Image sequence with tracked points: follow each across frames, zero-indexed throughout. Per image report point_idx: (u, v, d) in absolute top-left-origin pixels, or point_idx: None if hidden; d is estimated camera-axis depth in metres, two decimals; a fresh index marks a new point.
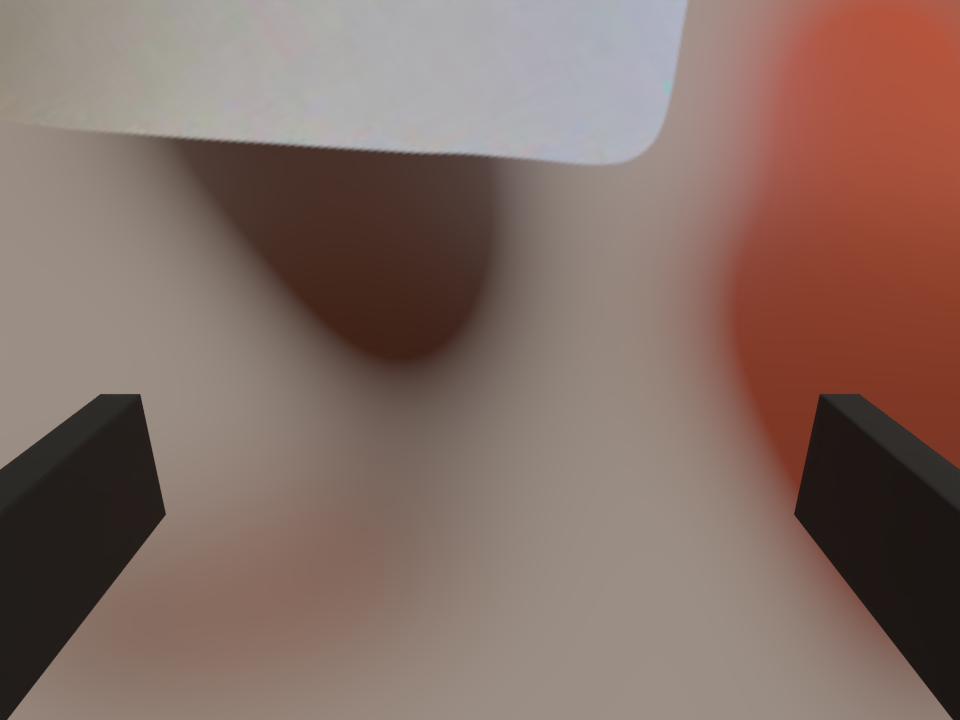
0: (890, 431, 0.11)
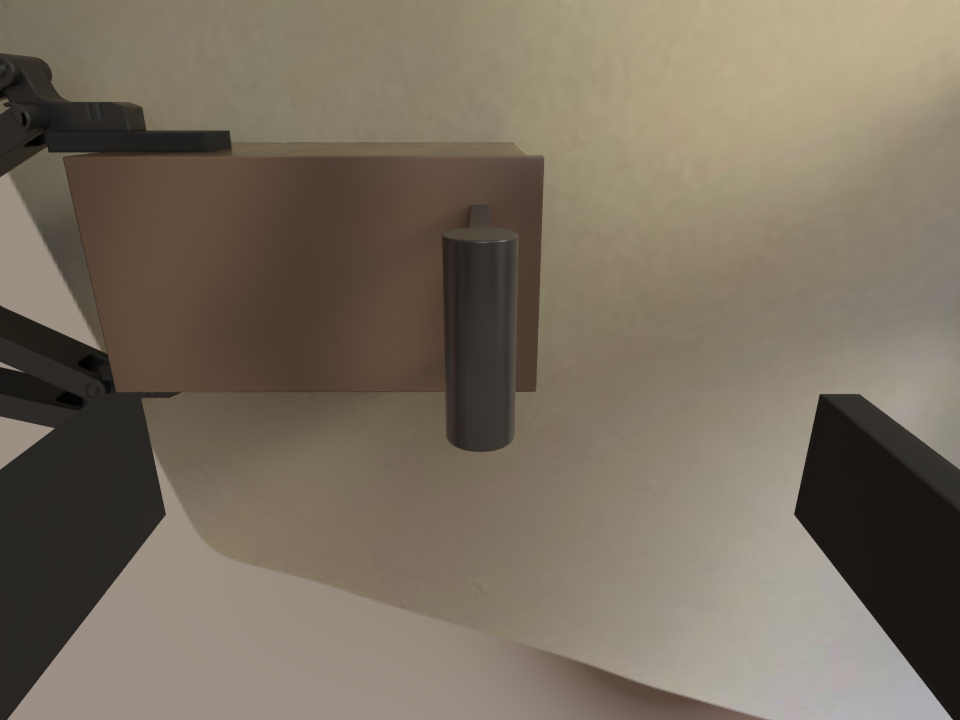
0: (890, 431, 0.11)
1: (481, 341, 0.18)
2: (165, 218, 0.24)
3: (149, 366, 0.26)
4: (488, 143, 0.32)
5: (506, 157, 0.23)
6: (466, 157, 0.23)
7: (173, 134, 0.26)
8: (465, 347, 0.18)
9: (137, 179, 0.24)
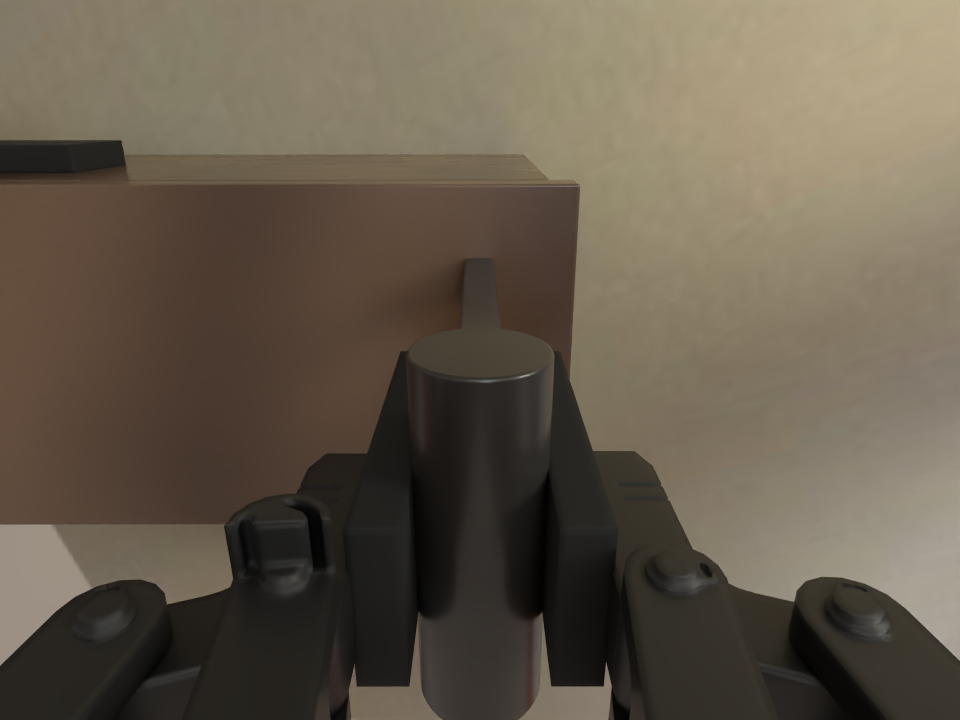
0: None
1: (481, 558, 0.09)
2: None
3: None
4: (491, 156, 0.24)
5: (520, 185, 0.15)
6: (458, 185, 0.15)
7: (22, 147, 0.17)
8: (452, 565, 0.09)
9: None
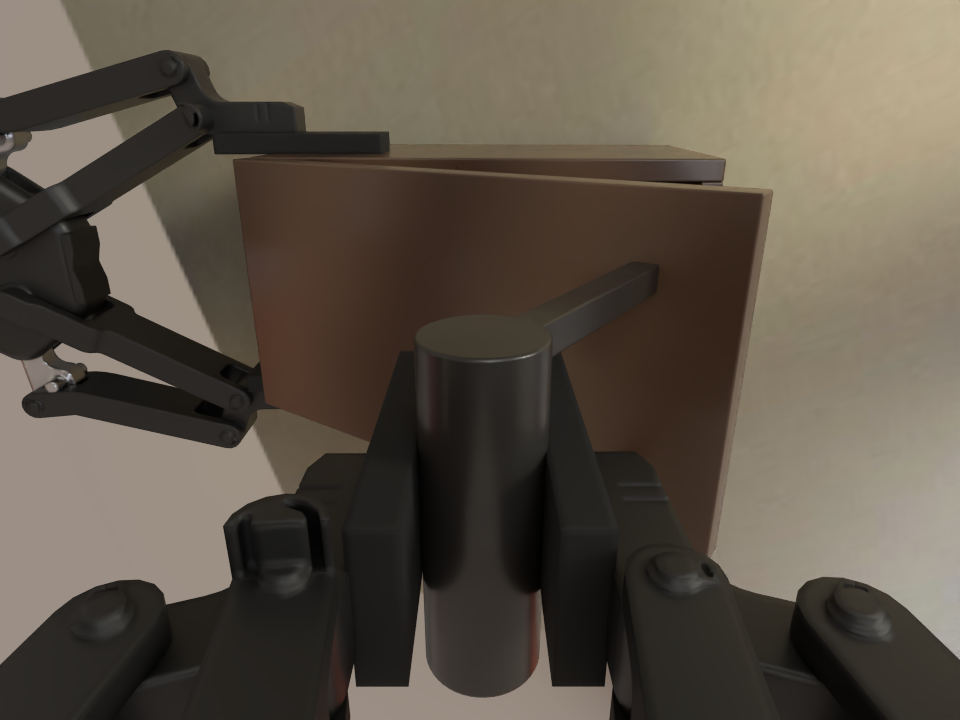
0: (554, 377, 0.13)
1: (445, 523, 0.10)
2: (303, 232, 0.21)
3: (288, 385, 0.25)
4: (644, 146, 0.30)
5: (697, 190, 0.14)
6: (632, 186, 0.15)
7: (346, 135, 0.25)
8: (427, 521, 0.10)
9: (283, 187, 0.21)
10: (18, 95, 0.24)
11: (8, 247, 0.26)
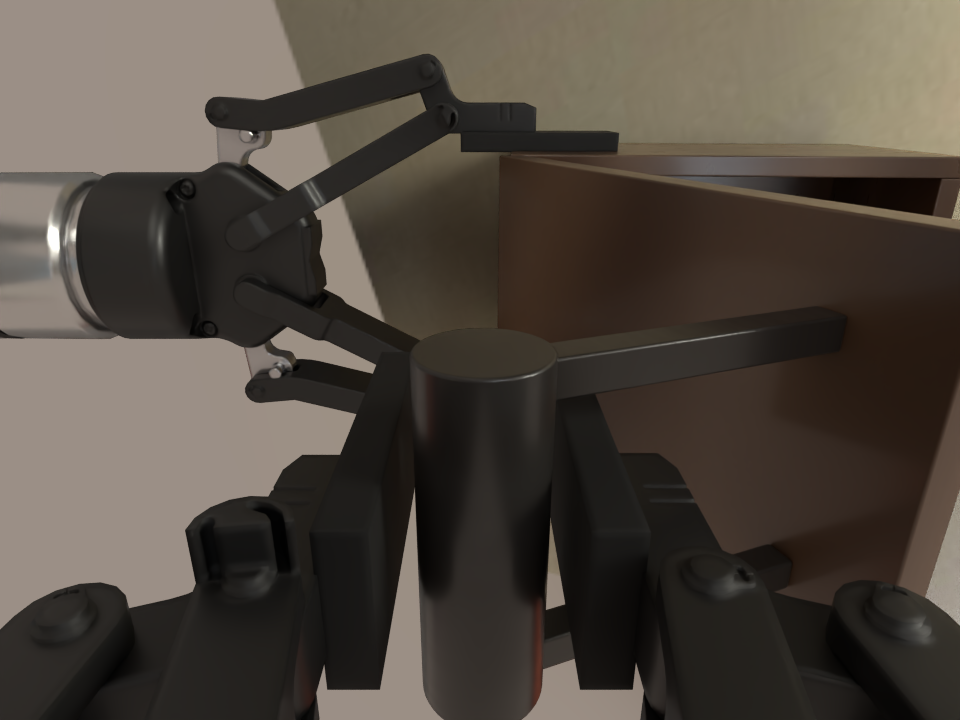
0: None
1: (419, 530, 0.10)
2: (537, 229, 0.22)
3: None
4: None
5: (909, 223, 0.10)
6: (829, 210, 0.11)
7: (587, 134, 0.26)
8: None
9: (528, 184, 0.22)
10: (282, 96, 0.26)
11: (259, 239, 0.27)
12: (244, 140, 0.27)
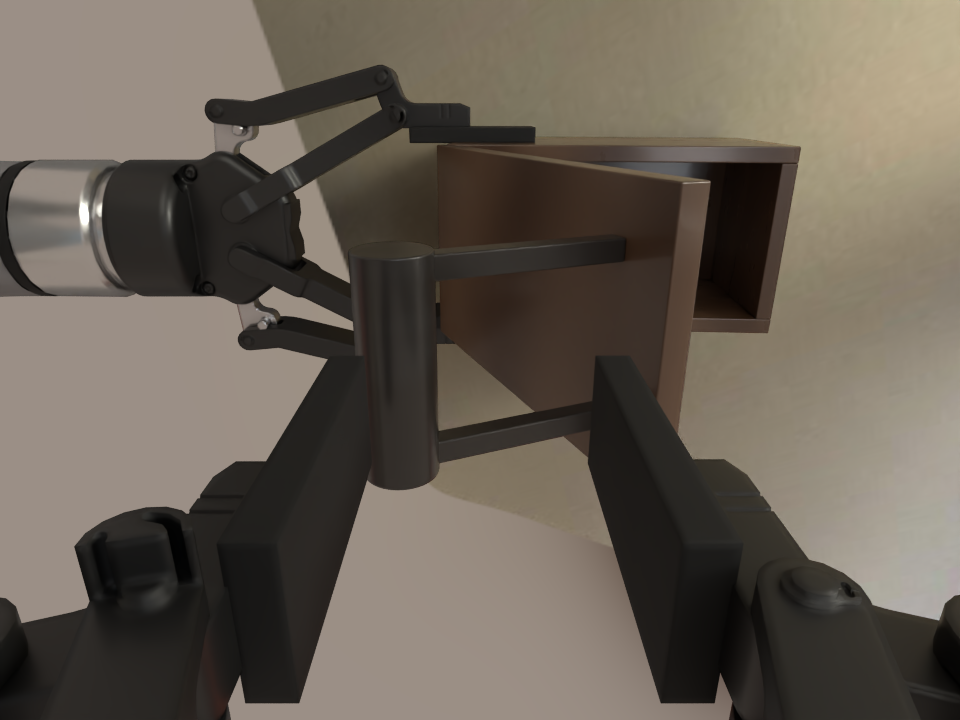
0: (630, 382, 0.13)
1: None
2: (463, 201, 0.29)
3: (451, 318, 0.32)
4: (721, 138, 0.39)
5: (648, 178, 0.17)
6: (615, 173, 0.18)
7: (510, 128, 0.33)
8: None
9: (456, 166, 0.29)
10: (266, 98, 0.33)
11: (249, 213, 0.34)
12: (236, 133, 0.33)
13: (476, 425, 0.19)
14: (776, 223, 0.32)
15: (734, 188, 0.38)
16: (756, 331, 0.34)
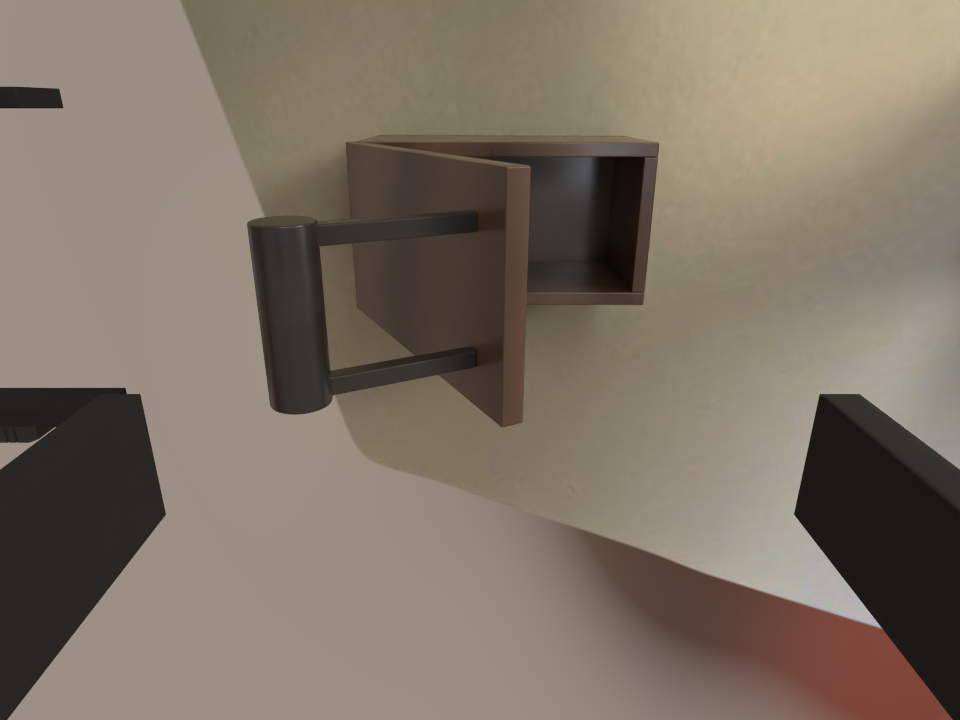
0: (890, 431, 0.11)
1: (258, 310, 0.21)
2: (367, 190, 0.33)
3: (364, 295, 0.37)
4: (607, 136, 0.44)
5: (487, 164, 0.22)
6: (467, 161, 0.23)
7: None
8: None
9: (361, 160, 0.33)
10: None
11: None
12: None
13: (363, 366, 0.23)
14: (643, 208, 0.37)
15: (618, 180, 0.43)
16: (633, 303, 0.39)
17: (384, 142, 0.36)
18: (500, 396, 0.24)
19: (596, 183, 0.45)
